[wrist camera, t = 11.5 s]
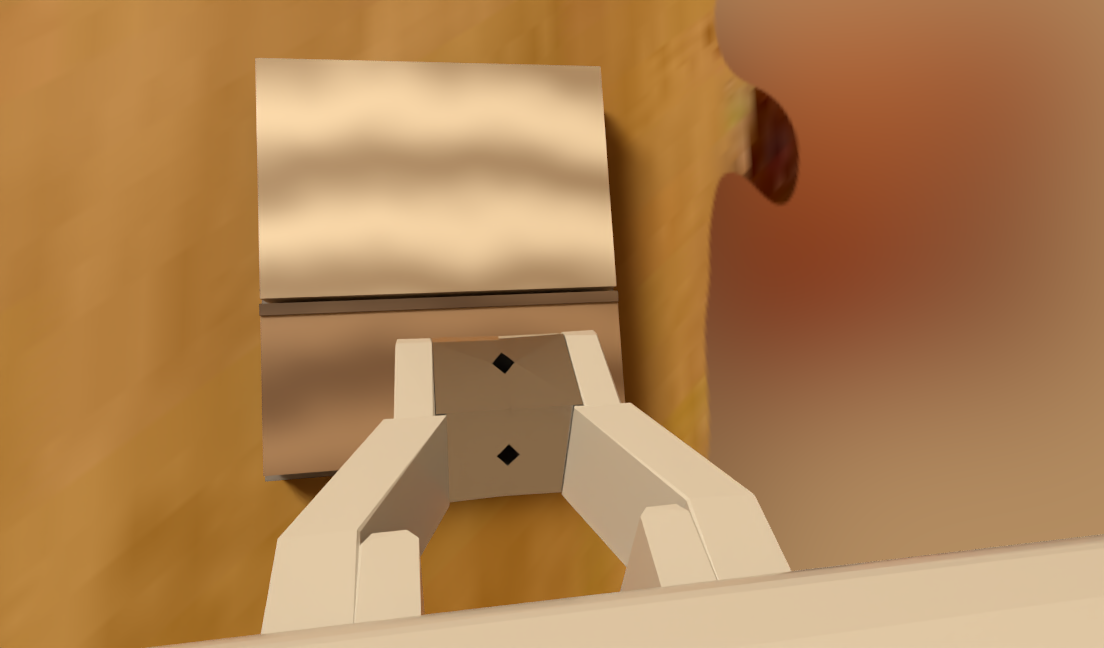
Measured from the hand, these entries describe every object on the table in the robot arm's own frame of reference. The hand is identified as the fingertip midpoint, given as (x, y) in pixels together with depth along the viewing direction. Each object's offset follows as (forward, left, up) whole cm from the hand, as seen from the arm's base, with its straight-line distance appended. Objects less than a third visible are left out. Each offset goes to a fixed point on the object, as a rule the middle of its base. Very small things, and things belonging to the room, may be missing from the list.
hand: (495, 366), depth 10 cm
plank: (+12, 0, -28) cm, 31 cm away
